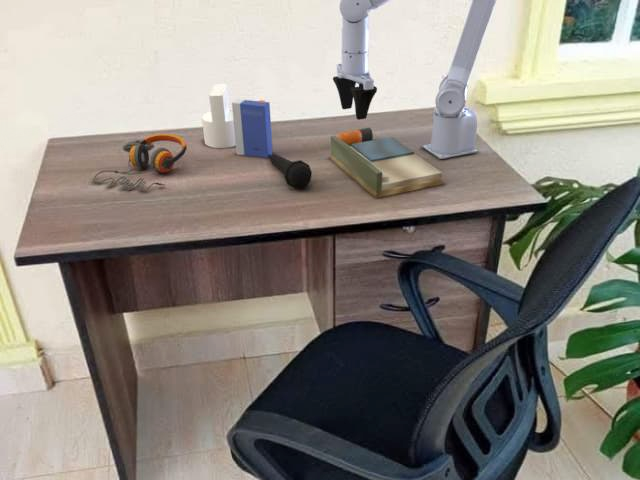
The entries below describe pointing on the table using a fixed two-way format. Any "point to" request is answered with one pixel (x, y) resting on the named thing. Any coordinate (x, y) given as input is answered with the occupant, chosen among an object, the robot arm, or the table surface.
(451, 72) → the robot arm
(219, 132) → the base with upright slab
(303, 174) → the microphone
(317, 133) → the table surface
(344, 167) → the bed
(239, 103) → the walkman
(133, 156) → the headphones
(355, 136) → the orange capsule container
